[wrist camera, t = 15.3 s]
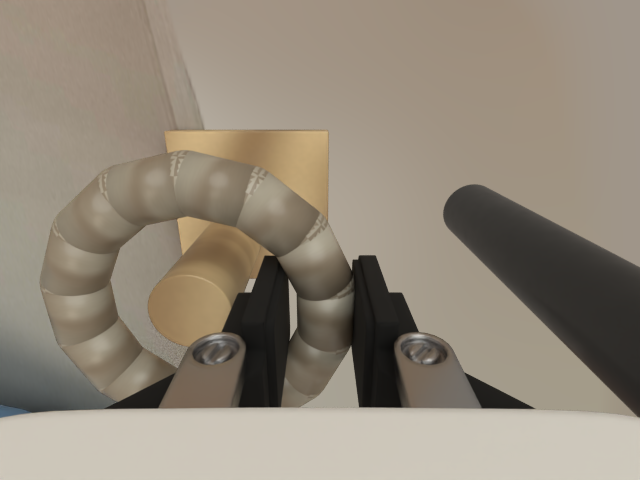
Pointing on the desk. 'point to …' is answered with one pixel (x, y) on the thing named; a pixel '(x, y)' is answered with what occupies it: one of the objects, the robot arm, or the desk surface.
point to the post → (231, 228)
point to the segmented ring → (206, 204)
